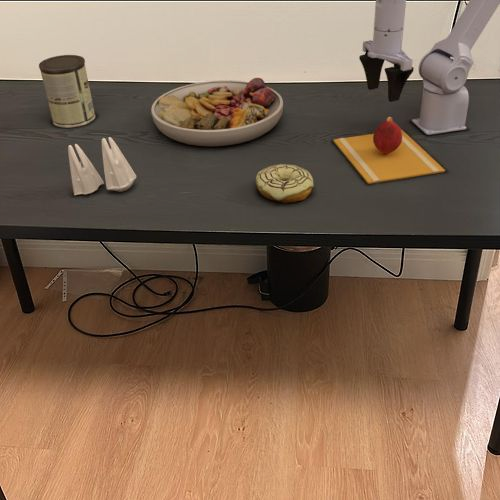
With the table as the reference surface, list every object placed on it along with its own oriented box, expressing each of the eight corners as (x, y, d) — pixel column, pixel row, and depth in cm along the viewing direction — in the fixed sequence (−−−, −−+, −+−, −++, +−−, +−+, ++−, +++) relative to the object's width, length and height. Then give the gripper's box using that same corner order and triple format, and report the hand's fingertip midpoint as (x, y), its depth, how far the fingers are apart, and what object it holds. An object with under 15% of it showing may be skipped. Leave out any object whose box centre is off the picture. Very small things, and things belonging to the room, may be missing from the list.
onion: (400, 161, 127) (404, 124, 123) (371, 159, 128) (374, 123, 124) (400, 148, 132) (404, 112, 127) (372, 147, 133) (375, 111, 128)
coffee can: (50, 115, 156) (37, 58, 148) (92, 108, 158) (82, 52, 150) (53, 131, 148) (39, 72, 140) (98, 123, 150) (86, 65, 142)
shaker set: (138, 184, 125) (130, 132, 118) (134, 194, 121) (125, 142, 115) (78, 185, 125) (67, 133, 119) (73, 196, 122) (60, 143, 116)
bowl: (207, 166, 130) (204, 130, 125) (129, 124, 149) (123, 92, 144) (310, 122, 145) (310, 89, 141) (227, 90, 164) (225, 60, 160)
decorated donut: (279, 212, 114) (278, 194, 112) (245, 189, 121) (244, 171, 119) (323, 194, 118) (324, 176, 116) (289, 172, 126) (288, 155, 124)
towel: (401, 131, 140) (402, 129, 139) (445, 172, 124) (445, 169, 123) (333, 141, 137) (333, 139, 137) (367, 184, 121) (368, 182, 121)
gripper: (351, 22, 128) (348, 87, 136) (392, 40, 117) (386, 110, 125) (380, 17, 130) (376, 81, 138) (424, 34, 119) (416, 103, 127)
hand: (383, 94), depth 132 cm, fingers open, 7 cm apart
